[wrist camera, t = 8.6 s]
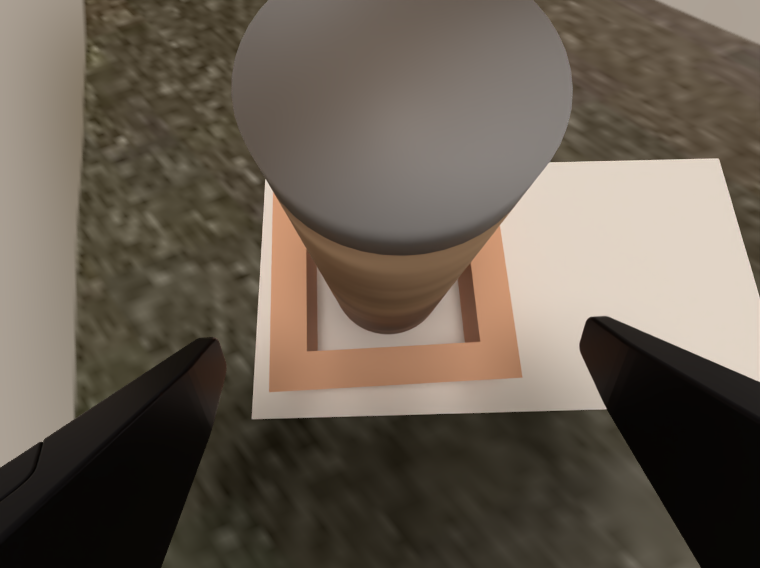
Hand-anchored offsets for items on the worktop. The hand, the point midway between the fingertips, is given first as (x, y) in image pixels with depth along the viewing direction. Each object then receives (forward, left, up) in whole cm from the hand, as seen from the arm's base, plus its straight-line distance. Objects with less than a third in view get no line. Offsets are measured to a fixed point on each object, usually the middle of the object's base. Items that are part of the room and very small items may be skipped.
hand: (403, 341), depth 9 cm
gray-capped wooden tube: (+3, -2, -7) cm, 8 cm away
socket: (+3, -2, -7) cm, 8 cm away
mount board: (0, -6, -9) cm, 11 cm away
